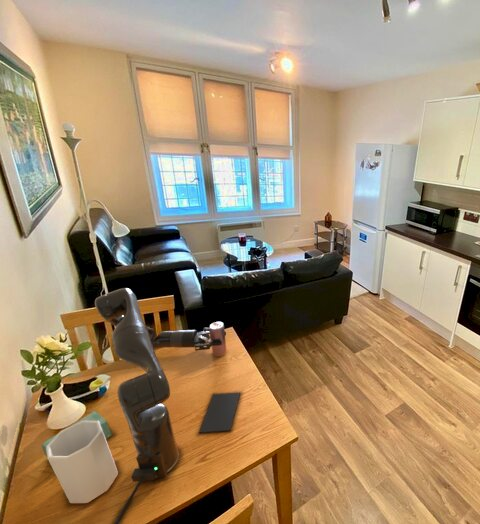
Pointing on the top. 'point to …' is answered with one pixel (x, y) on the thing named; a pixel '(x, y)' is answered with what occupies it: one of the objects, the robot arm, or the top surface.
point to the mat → (220, 413)
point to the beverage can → (218, 338)
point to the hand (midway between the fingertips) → (223, 338)
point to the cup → (82, 461)
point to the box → (91, 417)
